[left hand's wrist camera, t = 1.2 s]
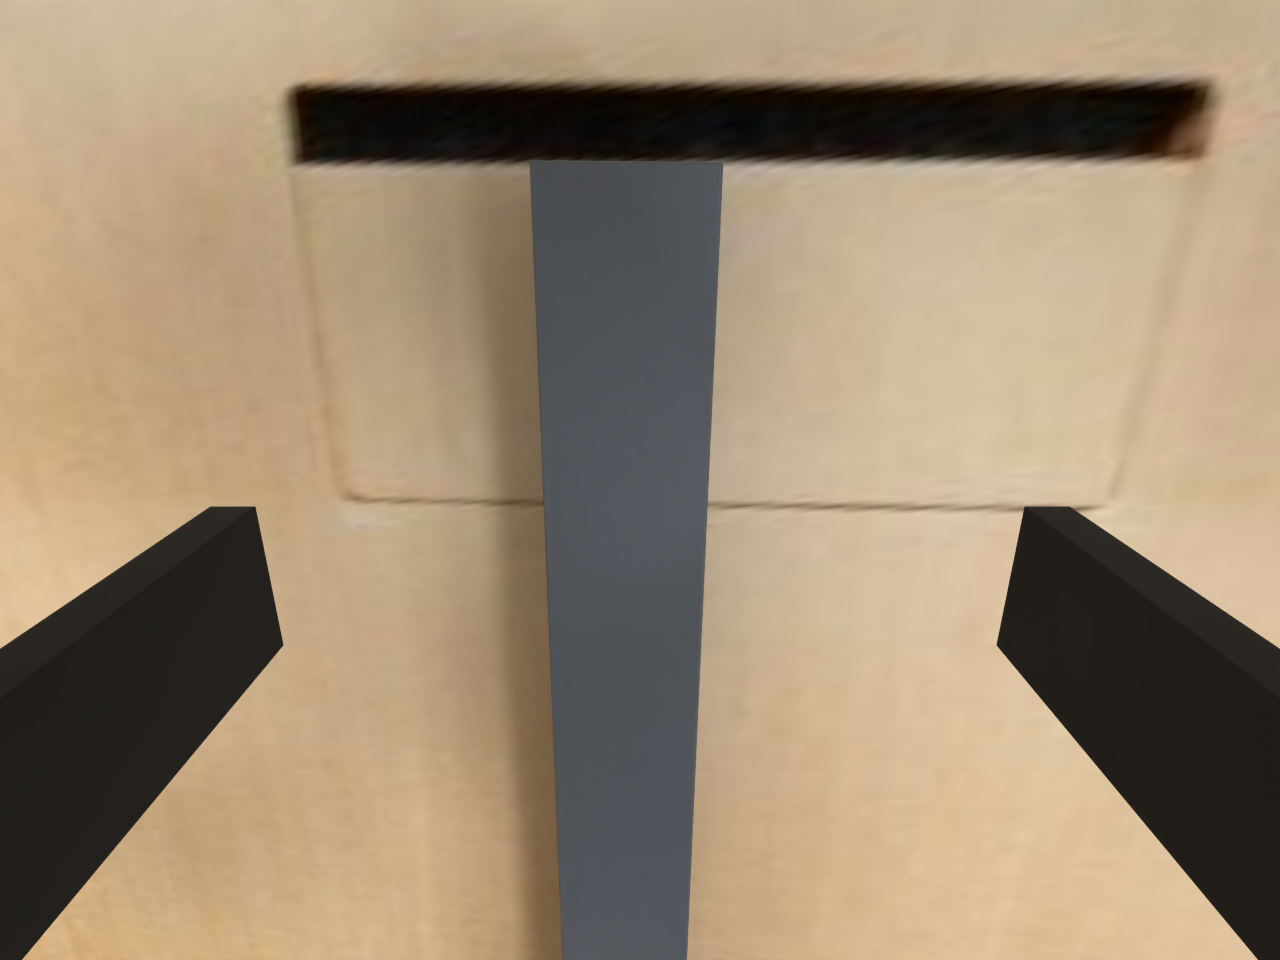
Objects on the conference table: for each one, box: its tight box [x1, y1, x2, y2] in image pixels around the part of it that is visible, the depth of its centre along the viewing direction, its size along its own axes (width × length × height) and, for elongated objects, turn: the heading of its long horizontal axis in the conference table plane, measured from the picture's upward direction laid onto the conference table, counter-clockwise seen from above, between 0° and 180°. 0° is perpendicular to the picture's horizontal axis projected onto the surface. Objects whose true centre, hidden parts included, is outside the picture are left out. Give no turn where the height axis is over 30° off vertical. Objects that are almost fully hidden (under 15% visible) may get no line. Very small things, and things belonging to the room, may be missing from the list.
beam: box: [530, 160, 723, 960], centre depth 31 cm, size 51×5×8 cm, turn 179°
